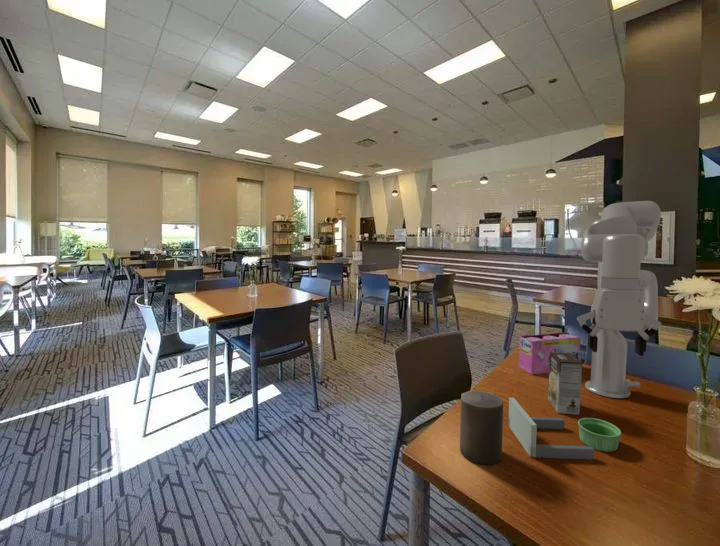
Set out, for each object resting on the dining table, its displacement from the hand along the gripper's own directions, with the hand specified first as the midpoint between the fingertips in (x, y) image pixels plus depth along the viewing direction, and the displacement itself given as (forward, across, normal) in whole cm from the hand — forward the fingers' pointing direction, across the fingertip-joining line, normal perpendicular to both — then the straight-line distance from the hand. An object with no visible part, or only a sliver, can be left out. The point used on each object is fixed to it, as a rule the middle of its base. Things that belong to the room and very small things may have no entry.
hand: (615, 352), depth 85 cm
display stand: (+23, +15, +5) cm, 28 cm away
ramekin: (+24, +3, +2) cm, 24 cm away
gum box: (+24, +4, -52) cm, 57 cm away
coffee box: (+24, +7, -17) cm, 30 cm away
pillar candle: (+24, +32, +15) cm, 42 cm away
